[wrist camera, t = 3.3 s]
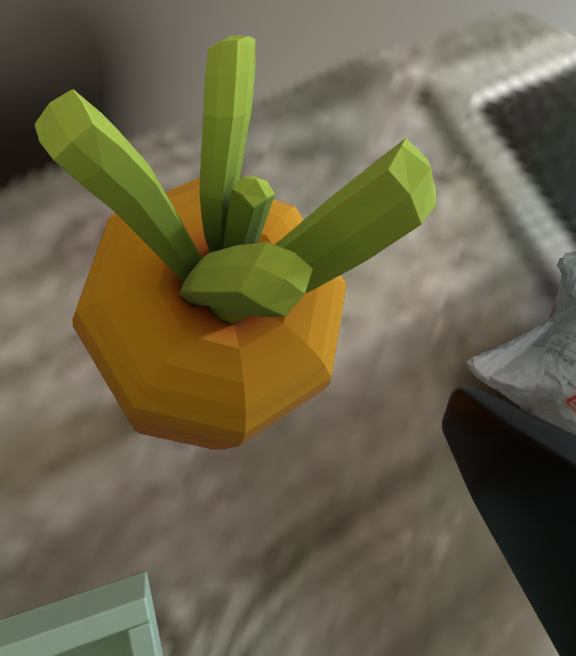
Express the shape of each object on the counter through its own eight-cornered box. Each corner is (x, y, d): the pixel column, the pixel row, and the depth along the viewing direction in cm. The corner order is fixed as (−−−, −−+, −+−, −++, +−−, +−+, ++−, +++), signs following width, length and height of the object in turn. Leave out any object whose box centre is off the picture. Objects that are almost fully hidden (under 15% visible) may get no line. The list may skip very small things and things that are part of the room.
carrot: (80, 410, 18) (-177, 144, 4) (170, 304, 19) (223, -140, 6) (197, 493, 18) (370, 537, 4) (275, 380, 20) (580, 137, 6)
